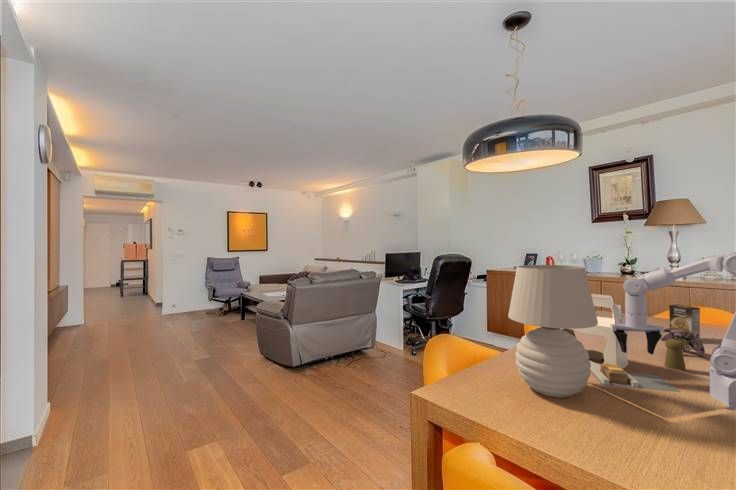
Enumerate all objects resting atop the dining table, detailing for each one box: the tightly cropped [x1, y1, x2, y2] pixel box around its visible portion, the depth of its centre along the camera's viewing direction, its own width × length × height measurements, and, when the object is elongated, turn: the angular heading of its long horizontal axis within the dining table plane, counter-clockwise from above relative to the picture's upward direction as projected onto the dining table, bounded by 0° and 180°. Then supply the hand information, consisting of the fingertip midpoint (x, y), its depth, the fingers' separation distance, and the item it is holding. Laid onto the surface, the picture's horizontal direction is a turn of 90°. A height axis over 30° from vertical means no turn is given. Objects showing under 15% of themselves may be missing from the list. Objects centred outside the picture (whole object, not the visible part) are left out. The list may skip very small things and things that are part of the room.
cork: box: [664, 339, 687, 373], centre depth 122 cm, size 6×6×11 cm
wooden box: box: [599, 362, 628, 384], centre depth 113 cm, size 8×5×4 cm, turn 163°
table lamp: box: [507, 264, 598, 399], centre depth 107 cm, size 25×25×40 cm
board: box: [590, 366, 682, 393], centre depth 112 cm, size 14×21×3 cm, turn 73°
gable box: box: [560, 293, 629, 370], centre depth 130 cm, size 22×13×28 cm, turn 38°
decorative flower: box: [660, 327, 706, 358], centre depth 138 cm, size 15×12×15 cm
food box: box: [668, 304, 701, 341], centre depth 158 cm, size 9×6×16 cm
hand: (637, 352), depth 113 cm, fingers open, 7 cm apart
